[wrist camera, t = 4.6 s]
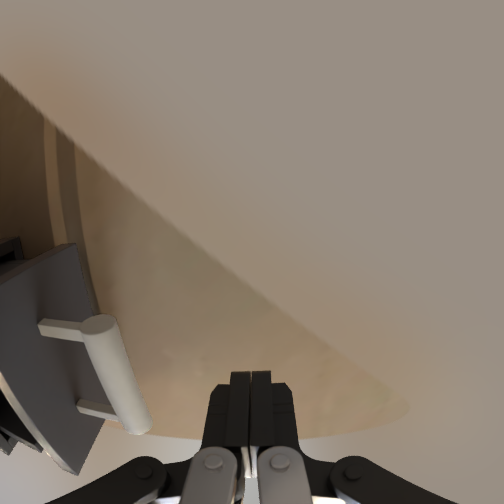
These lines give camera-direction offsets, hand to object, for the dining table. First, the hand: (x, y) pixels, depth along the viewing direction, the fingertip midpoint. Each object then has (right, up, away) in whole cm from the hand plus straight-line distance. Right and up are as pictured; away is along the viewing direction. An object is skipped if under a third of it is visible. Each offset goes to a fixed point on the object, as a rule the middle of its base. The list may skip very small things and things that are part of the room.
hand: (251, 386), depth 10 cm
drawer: (-13, +1, +4) cm, 14 cm away
